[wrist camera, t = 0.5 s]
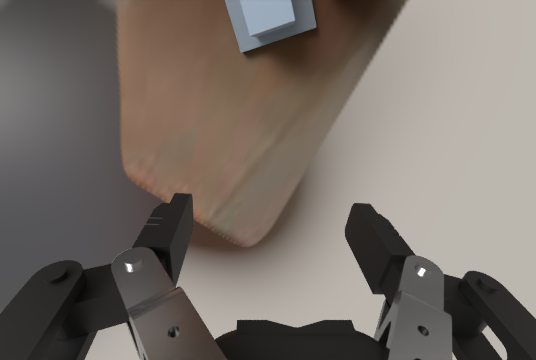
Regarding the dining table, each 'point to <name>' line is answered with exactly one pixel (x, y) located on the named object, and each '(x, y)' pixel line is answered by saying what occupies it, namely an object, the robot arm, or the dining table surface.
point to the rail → (269, 20)
